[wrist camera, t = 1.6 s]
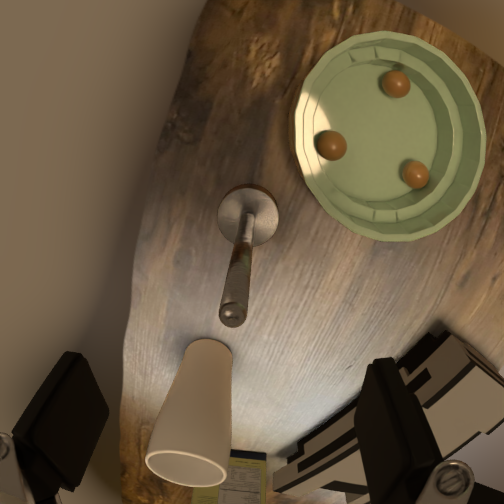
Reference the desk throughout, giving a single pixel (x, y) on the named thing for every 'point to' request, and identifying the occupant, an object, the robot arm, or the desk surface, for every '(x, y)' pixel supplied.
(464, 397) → the game console
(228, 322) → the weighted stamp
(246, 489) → the protein box
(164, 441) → the drinking glass
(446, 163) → the bowl
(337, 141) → the bead
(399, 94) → the bead
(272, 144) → the desk surface
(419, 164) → the bead
